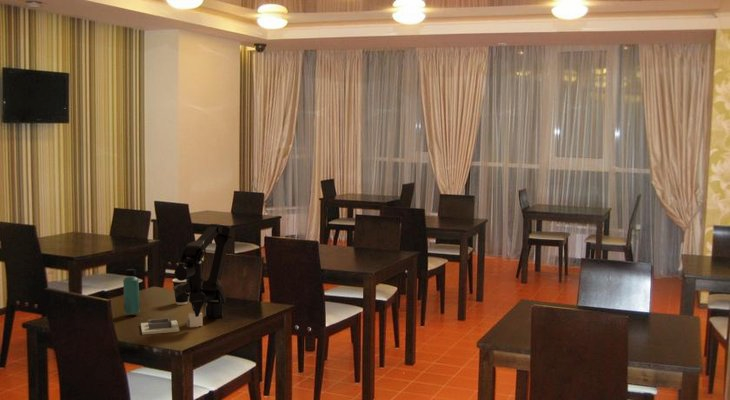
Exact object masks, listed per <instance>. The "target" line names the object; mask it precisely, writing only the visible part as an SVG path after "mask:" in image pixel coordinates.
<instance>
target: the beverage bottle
mask: <svg viewBox="0 0 730 400" xmlns="http://www.w3.org/2000/svg"><path fill="white" fill-rule="evenodd" d="M124 274H125V276H126V277H124V278H123V280H122V282H123V303H124V305H123V311H124V313H125V314H128V315H135V314H138V313H140V311H141V307H140V306H141V303H140V302H141V301H140V286H139V279H140V278H138V277H136V276H134V275H136V274H137V273H136V269H134V268H128V269H125V273H124Z"/></svg>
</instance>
